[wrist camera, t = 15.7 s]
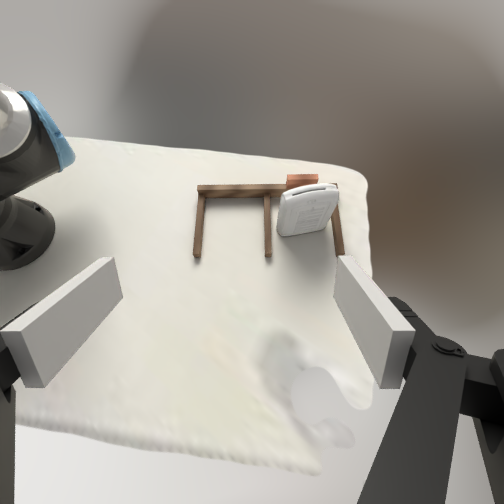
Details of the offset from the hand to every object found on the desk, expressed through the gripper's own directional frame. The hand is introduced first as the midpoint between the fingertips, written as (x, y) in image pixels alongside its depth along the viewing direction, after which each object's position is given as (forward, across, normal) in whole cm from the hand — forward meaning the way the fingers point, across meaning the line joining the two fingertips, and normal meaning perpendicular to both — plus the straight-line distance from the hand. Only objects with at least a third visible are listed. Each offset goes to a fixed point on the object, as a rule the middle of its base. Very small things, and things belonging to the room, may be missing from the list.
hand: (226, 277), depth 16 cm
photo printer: (+39, +11, -9) cm, 42 cm away
